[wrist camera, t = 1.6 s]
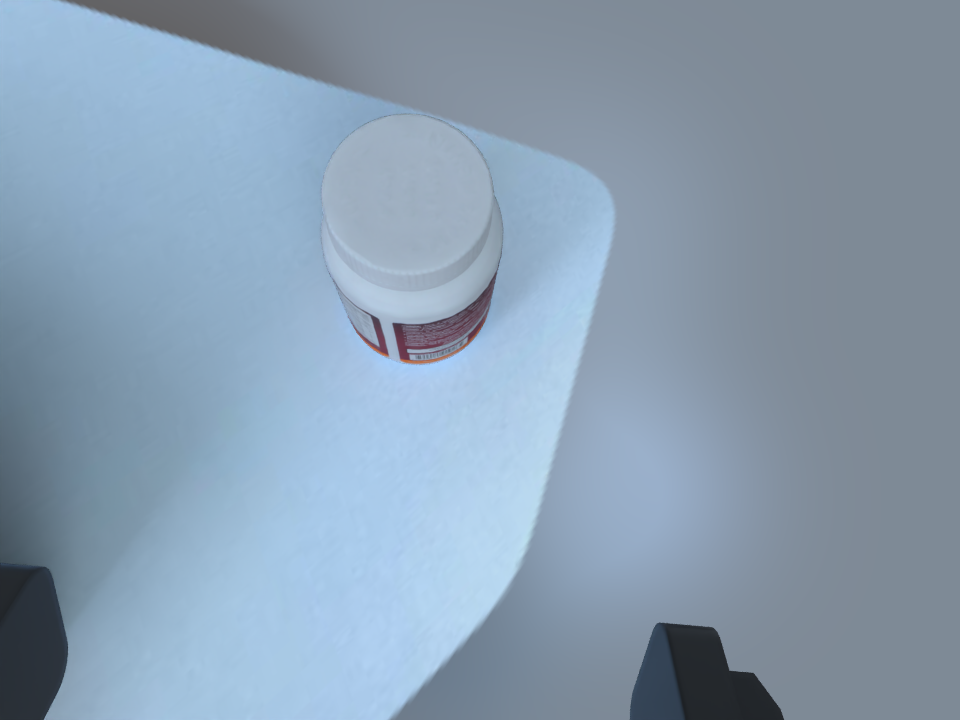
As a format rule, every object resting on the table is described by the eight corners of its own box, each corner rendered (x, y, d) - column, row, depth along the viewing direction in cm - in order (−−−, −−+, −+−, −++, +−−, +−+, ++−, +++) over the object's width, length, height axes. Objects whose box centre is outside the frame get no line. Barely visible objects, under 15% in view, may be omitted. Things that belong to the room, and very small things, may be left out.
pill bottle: (509, 259, 36) (543, 137, 25) (459, 389, 35) (470, 321, 24) (378, 209, 36) (352, 66, 25) (322, 337, 35) (269, 245, 24)
